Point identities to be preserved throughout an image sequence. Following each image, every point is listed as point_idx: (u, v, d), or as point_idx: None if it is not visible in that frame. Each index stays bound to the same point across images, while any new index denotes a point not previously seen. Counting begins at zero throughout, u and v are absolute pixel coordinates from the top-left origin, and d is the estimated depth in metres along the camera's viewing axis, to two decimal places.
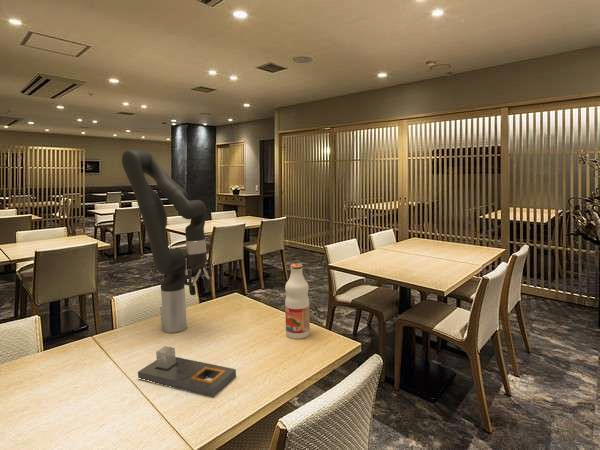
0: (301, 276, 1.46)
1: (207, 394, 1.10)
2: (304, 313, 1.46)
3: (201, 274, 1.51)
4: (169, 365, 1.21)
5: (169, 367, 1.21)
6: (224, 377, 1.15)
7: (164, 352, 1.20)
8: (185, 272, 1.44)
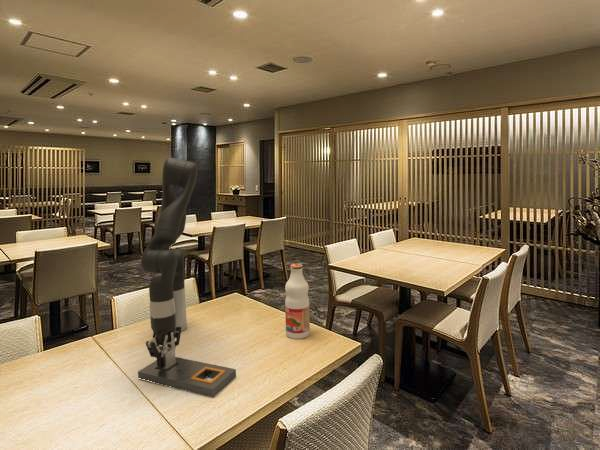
0: (301, 276, 1.46)
1: (207, 394, 1.10)
2: (304, 313, 1.46)
3: (166, 340, 1.21)
4: (169, 364, 1.21)
5: (169, 367, 1.21)
6: (224, 377, 1.15)
7: (164, 352, 1.20)
8: (148, 345, 1.15)
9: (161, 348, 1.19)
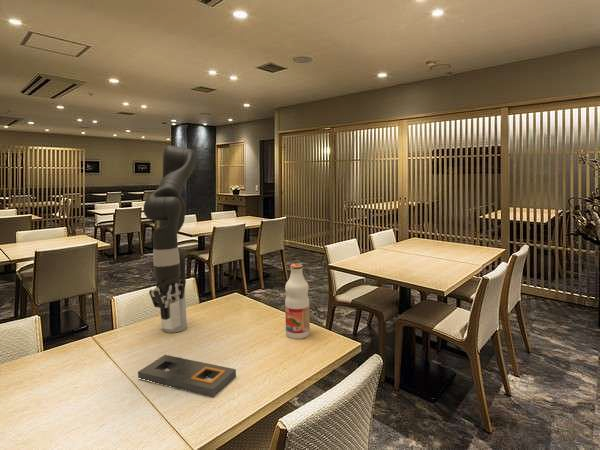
0: (301, 276, 1.46)
1: (207, 394, 1.10)
2: (304, 313, 1.46)
3: (171, 291, 1.17)
4: (173, 316, 1.17)
5: (173, 319, 1.17)
6: (224, 377, 1.15)
7: (168, 303, 1.16)
8: (151, 294, 1.12)
9: (165, 298, 1.15)
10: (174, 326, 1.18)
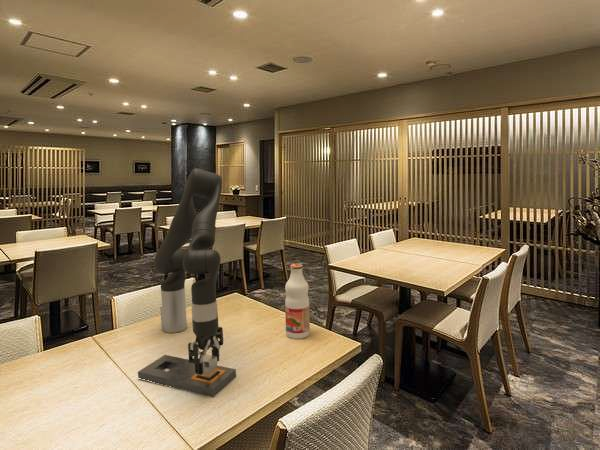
0: (301, 276, 1.46)
1: (207, 394, 1.10)
2: (304, 313, 1.46)
3: (210, 345, 1.15)
4: (211, 374, 1.15)
5: (212, 376, 1.15)
6: (224, 377, 1.15)
7: (207, 361, 1.14)
8: (190, 347, 1.09)
9: (201, 353, 1.11)
10: None
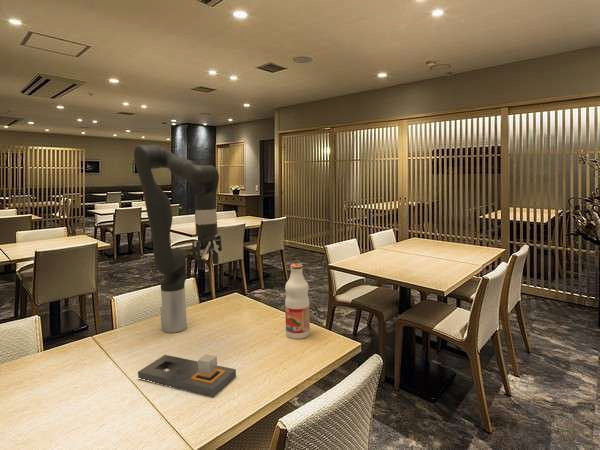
0: (301, 276, 1.46)
1: (207, 394, 1.10)
2: (304, 313, 1.46)
3: (210, 247, 1.37)
4: (211, 374, 1.15)
5: (212, 376, 1.15)
6: (224, 377, 1.15)
7: (206, 361, 1.14)
8: (194, 244, 1.31)
9: (203, 251, 1.33)
10: None
